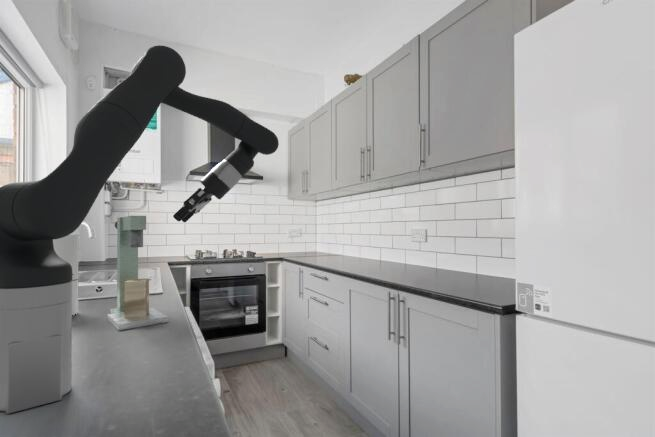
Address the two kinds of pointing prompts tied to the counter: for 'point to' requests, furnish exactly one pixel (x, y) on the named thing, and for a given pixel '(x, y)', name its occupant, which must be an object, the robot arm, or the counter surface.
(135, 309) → the block
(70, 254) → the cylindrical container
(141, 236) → the press
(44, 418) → the counter surface
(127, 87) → the robot arm
